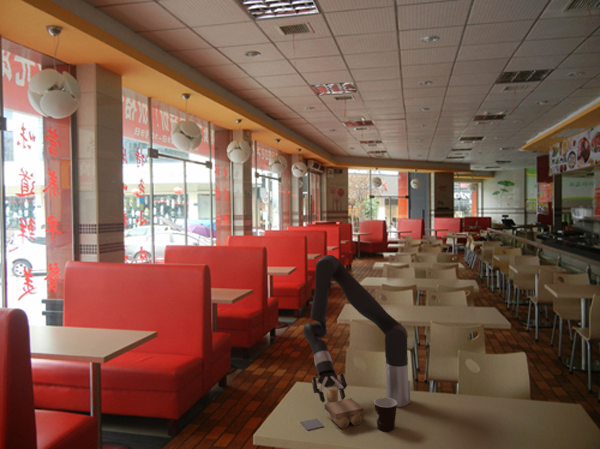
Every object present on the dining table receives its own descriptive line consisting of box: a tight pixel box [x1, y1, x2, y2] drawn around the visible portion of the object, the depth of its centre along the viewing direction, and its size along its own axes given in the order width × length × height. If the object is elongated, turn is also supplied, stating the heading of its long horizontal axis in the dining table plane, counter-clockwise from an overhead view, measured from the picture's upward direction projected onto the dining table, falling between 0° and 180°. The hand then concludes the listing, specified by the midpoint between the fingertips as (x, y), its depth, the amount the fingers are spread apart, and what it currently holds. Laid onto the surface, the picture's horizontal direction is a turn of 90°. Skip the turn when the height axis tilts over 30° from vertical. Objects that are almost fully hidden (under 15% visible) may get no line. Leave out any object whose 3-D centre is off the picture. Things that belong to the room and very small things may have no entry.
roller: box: [326, 386, 339, 403], centre depth 193 cm, size 4×4×10 cm
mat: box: [300, 417, 325, 431], centre depth 182 cm, size 7×7×1 cm
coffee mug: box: [373, 397, 398, 433], centre depth 180 cm, size 12×9×10 cm
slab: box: [324, 398, 364, 430], centre depth 184 cm, size 12×10×6 cm
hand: (333, 400), depth 192 cm, fingers open, 8 cm apart
